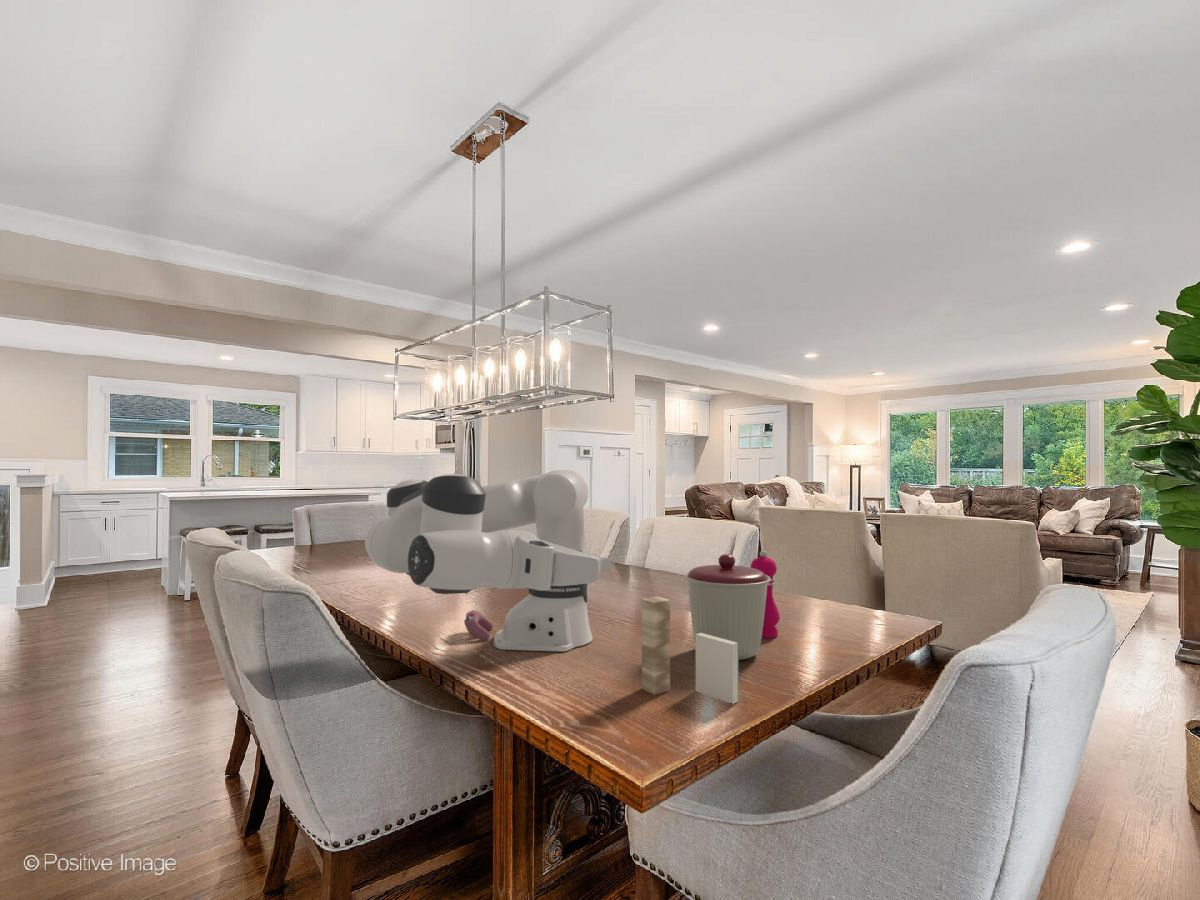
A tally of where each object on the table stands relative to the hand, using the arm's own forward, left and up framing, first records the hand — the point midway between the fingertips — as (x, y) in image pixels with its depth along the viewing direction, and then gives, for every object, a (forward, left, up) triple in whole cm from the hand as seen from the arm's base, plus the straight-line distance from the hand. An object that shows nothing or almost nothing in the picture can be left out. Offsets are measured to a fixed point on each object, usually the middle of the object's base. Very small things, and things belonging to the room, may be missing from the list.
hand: (593, 558), depth 100 cm
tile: (+22, +2, -24) cm, 33 cm away
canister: (+31, +25, -25) cm, 47 cm away
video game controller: (-24, +43, -25) cm, 55 cm away
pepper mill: (+44, +38, -25) cm, 63 cm away
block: (+12, +6, -24) cm, 28 cm away
